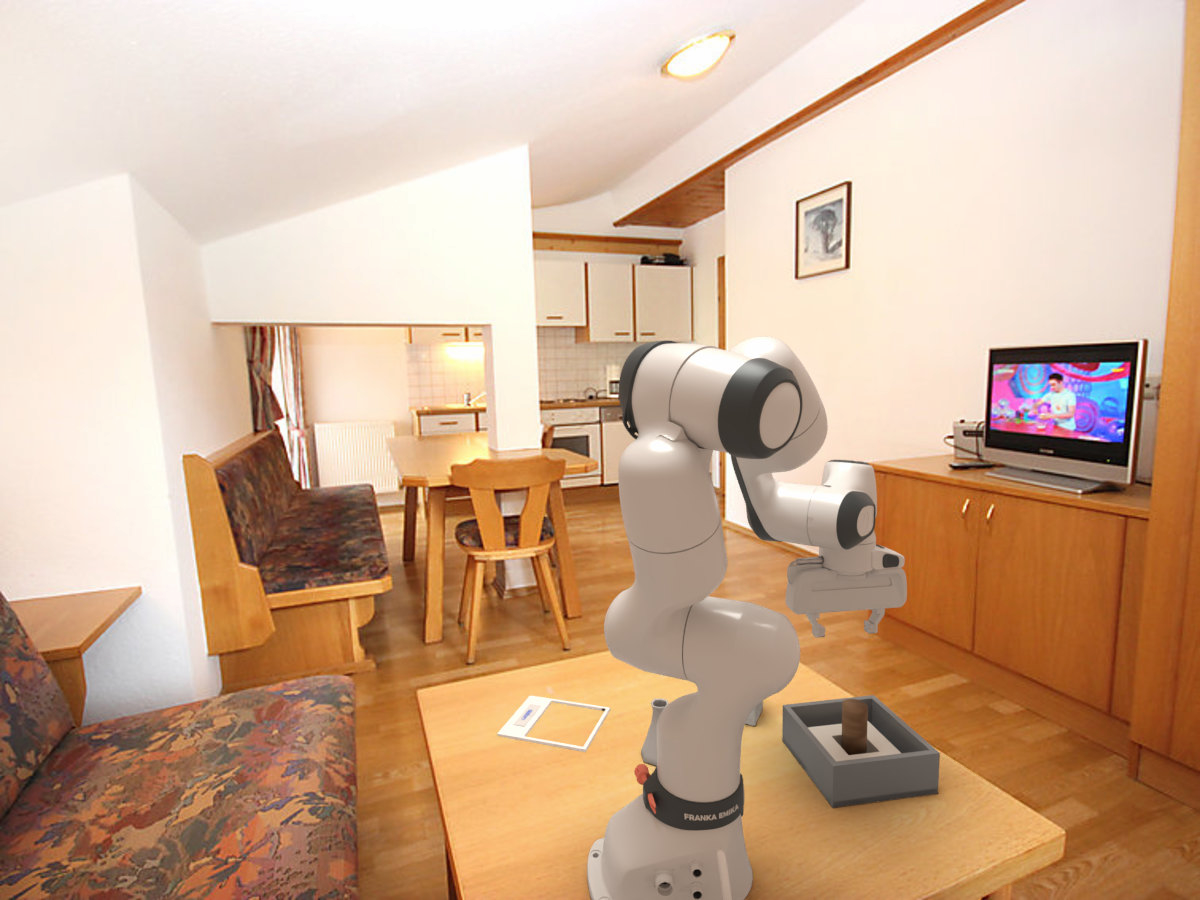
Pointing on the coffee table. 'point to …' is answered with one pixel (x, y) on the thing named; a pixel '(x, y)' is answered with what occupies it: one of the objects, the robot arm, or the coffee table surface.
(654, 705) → the flask
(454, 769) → the coffee table surface
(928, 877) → the coffee table surface
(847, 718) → the peg
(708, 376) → the robot arm
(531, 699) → the photo frame
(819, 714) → the bin
